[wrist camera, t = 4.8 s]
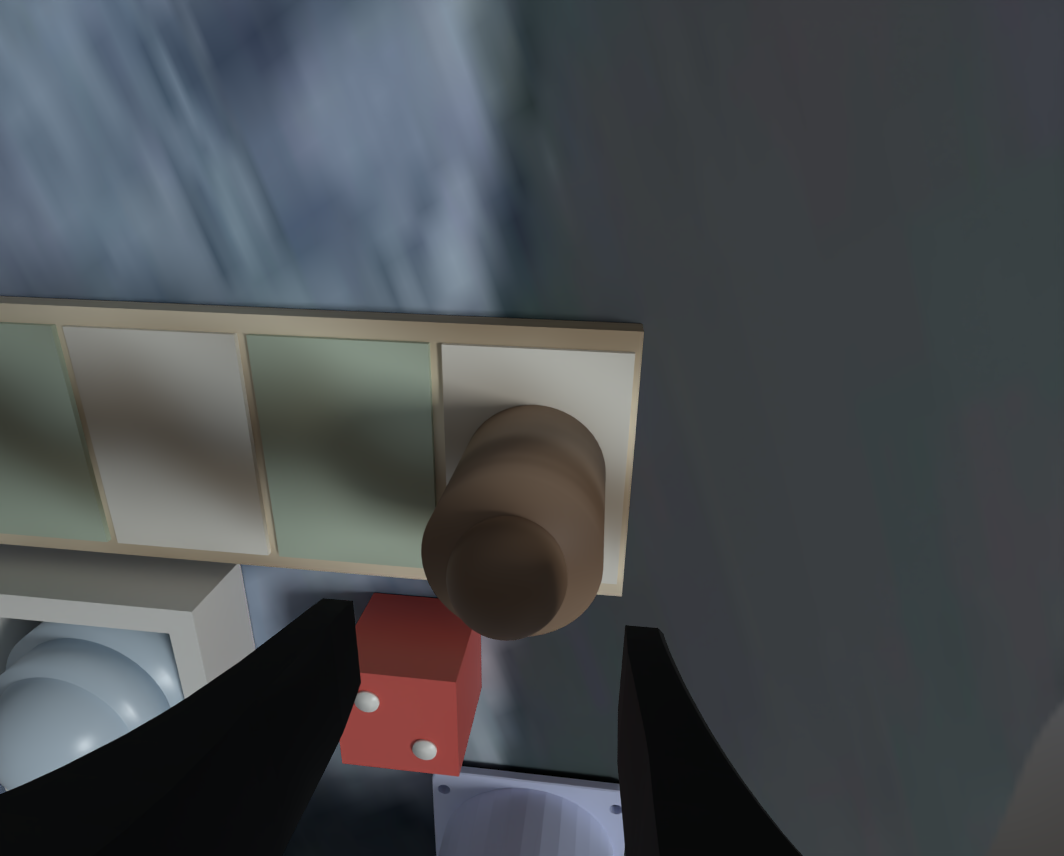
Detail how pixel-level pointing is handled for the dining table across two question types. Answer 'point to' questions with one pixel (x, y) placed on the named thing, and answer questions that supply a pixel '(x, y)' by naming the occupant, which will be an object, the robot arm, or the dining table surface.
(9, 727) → the dome
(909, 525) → the dining table surface
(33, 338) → the track board
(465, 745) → the red die
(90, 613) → the dome housing
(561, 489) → the pawn
